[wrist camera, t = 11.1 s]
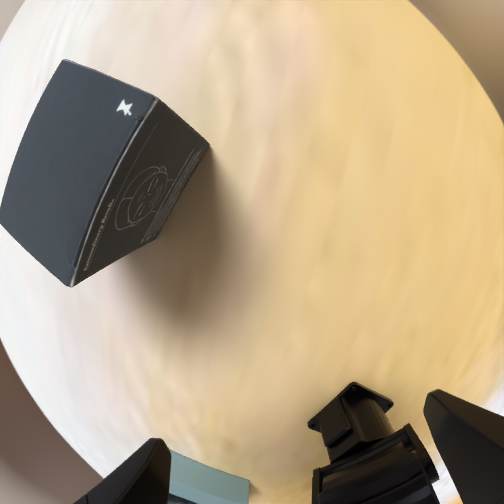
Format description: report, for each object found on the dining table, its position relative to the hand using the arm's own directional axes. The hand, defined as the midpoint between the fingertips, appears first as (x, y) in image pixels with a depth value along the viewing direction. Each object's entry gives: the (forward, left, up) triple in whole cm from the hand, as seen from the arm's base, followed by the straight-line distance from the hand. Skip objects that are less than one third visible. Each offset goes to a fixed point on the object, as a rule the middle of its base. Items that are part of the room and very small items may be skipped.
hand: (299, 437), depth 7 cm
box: (+12, -2, -13) cm, 18 cm away
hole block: (-7, +28, -13) cm, 32 cm away
